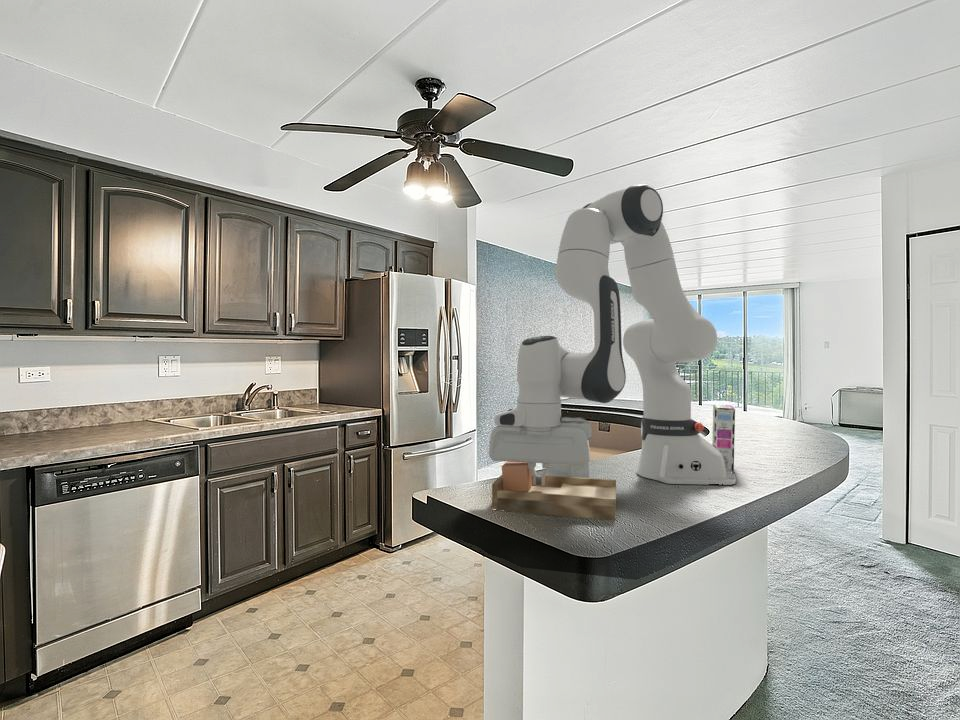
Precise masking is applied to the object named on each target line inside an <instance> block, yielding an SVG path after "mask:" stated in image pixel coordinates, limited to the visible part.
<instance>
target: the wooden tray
mask: <svg viewBox="0 0 960 720" xmlns="http://www.w3.org/2000/svg"><path fill="white" fill-rule="evenodd" d="M531 477H532V486H531V487H530V489H529V490H528V491H503V478H502V474H500V476H499V477H497V479H496V480H495V481H494V482H493V483H492V484H491V488H492V489H491V499H492V500H491V510H492V509H496V510H504V511H503V512H507V511H514V512H513V513H520V512H523V514H535V515H546V516H548V515H549V516H561V517H568V518H569V517H572V518H583V519H584V518H585V519H595V520H605V521H606V520H608V521H616V518H617V517H616V515H617V514H616V513H617V511H616V510H617V509H616V508H617V506H616V505H617V480H616V479H610V478H609V479H608V478H594V477H591V478H590V477H589V478H578V477H562V476H549V475H545V484H544V485H533V476H532V474H531Z"/></svg>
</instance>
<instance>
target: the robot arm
mask: <svg viewBox="0 0 960 720" xmlns="http://www.w3.org/2000/svg"><path fill="white" fill-rule="evenodd" d="M663 204H664V203H663V200H662V198H661V195H660V194H659V193H658V191H657V190H656V189H655V188H654V187H652V186H651V185H650V184H647V183H643V184H635V185H630V186H629V187H627V188H624V189H619V190H616V191H613V192H611V193H608V194H606V195H605V196H603V197H601V198H599V199H597V200H595V201H593V202H591V203H588V204H586V205H584V206H583V207H582V208H580V209H576V210H575V211H573V212H572V213H570V215H569V216H568V218H567V220H566V222H565V225H564V228H563V231H562V235H561V238H560V242H559V246H558V253H557V259H556V264H555V265H556V266H555V277H556V282H557V283H558V286H559V287H560V289H561V290H563V291H564V292H565V293H566V294H568V296H571V297H573V298H575V299H577V300H579V301H582V302H584V303H588V304H589V305H590V306H591V308H592V311H593V328H594V332H593V333H594V334H593V335H594V336H593V337H594V346H593V349H592V351H591V352H571V351H570V350H567V349H566V348H564V347H563V346H562V345H560V344H559V340H558V338H557V337H556V336H553V335H540V336H532V337H528V338H526V339H524V340H523V341H521V343H520V345H519V349H518V353H517V354H518V355H517V364H516V365H517V366H516V381H517V385H518V396H517V399H516V408H510V409H507V410H505V411H502V412H500V413H497V414H496V415H495V416H494V424H495V427H494V428H493V429H492V430H491V433H490V437H489V444H488V456H489V458H490V459H491V461H493V462H527V463H528V469H529V471H530V473H531V475H532V476H533V485H544V484H545V476H547V473H548V470H549V468H550V464H567V465H586V464H587V463H588V464H589V463H590V459H591V452H590V450H591V449H590V442H589V440H590V439H591V437H592V433H593V432H592V431H593V430H592V424H591V422H590V421H588V419H587V420H586V419H585V418H584V417H580V416H579V417H570V416H562V399H561V398H568V399H575V400H576V399H578V400H587V401H590V402H596V403H600V404H608V403H610V402H612V401H613V400H614V399H616V398H617V397H618V396H619V395H620V394H621V392H622V391H623V389H624V387H625V385H626V379H627V378H626V369H625V363H624V358H623V349H622V348H624V351H625V352H626V354H627V355H628V356H629V357H630V358H631V359H632V361H633V362H634V363H635V366H636V368H637V370H638V374H639V376H640V380H641V386H642V399H643V401H642V402H643V403H642V404H643V407H642V408H643V416H642V417H641V422H640V437H641V440H642V443H641V451H640V458H639V462H638V466H637V469H636V474H637V475H638V476H640V477H643V478H646V479H649V480H655V481H659V482H661V483H664V484H669V485H709V484H719V485H720V486H726V485H727V486H728V485H729V486H730V485H731V486H733V485H735V484H736V483H737V478H736V475H735V474H734V473H731V472H729V471H727V470H726V468H725V462H724V458H723V456H722V454H721V453H720V451H719V450H717V449H716V448H715V447H714V446H713V445H712V443H710V442H709V441H708V440H706V439H705V438H704V437H702V436H701V435H700V432H703V430H705V426H704V424H703V423H701V422H698V421H696V420H694V419H692V418H691V417H692V414H691V413H692V408H691V407H692V405H691V404H692V390H691V387H690V385H689V383H688V382H686V380H684V379H683V378H682V377H681V376H680V374H679V372H678V370H677V365H676V363H693V362H697V361H701V360H705V359H707V358H709V357H710V356H712V354H713V353H714V352H715V349H716V347H717V344H718V334H717V330H716V328H715V326H714V324H713V323H712V322H711V321H710V320H709V319H706V318H705V317H704V316H703V315H701V314H700V313H699V312H698V311H697V310H696V309H695V308H694V307H693V305H692V304H691V302H690V301H689V300H688V298H687V296H686V293H684V290H683V287H682V285H681V281H680V277H679V272H678V270H677V269H678V268H677V265H676V261H675V260H676V258H675V255H674V251H673V247H672V244H671V241H670V238H669V235H668V233H667V231H666V227H665V226H664V224H663V221H662V219H663V216H664V215H663V214H664V205H663ZM618 243H621V245H622V246H623V251H624V252H623V253H624V259H625V264H626V268H627V269H626V270H627V273H628V279H629V284H630V288H631V291H632V296H633V299H634V301H635V302H636V303H638V304H639V305H640V306H642V307H643V308H644V309H646V311H647V312H648V313H649V315H650V317H651V318H649V319H643V320H640V321H638V322H635V323H633V324H631V325H629V326H628V327H627V328H626V329H625V331H624V334H623V337H622V314H621V313H622V312H621V311H622V310H621V298H620V290H619V286H618V283H617V282H616V280H615V279H614V278H612V277H611V275H610V272H609V260H610V249H611V248H610V247H611V245H613V244H618ZM622 338H623V339H622ZM622 345H623V347H622ZM561 422H562V423H561ZM584 422H586V423H584ZM537 464H541V467H542V469H544V470H543V472H542V474H538V472H537V471H536V469H535V468H536V466H537ZM722 484H723V485H722ZM732 484H733V485H732ZM719 485H718V486H719Z"/></svg>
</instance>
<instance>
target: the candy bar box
mask: <svg viewBox="0 0 960 720" xmlns="http://www.w3.org/2000/svg"><path fill="white" fill-rule="evenodd" d="M712 407H713V408H712V442H711V445H713V446H714V447H715V448H716V449H717V450H719V451H720V453H721V454H722V456H723V458H724V462H725V468H726V470H727V471H729V472H733V473H732V474H734V473H735V472H734V471H735V436H736V435H735V434H736V433H735V432H736V429H735V427H736V425H735V424H736V408H735V407H734V406H732V405H728V404H712Z"/></svg>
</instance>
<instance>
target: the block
mask: <svg viewBox="0 0 960 720" xmlns="http://www.w3.org/2000/svg"><path fill="white" fill-rule="evenodd" d="M501 475H502V478H503V491H528V490H529V489H530V487H531V486H532V477H531V475H532V474H531V473H530V471H529V469H528V463H527V462H508V461H505V463H503V465H501Z"/></svg>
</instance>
